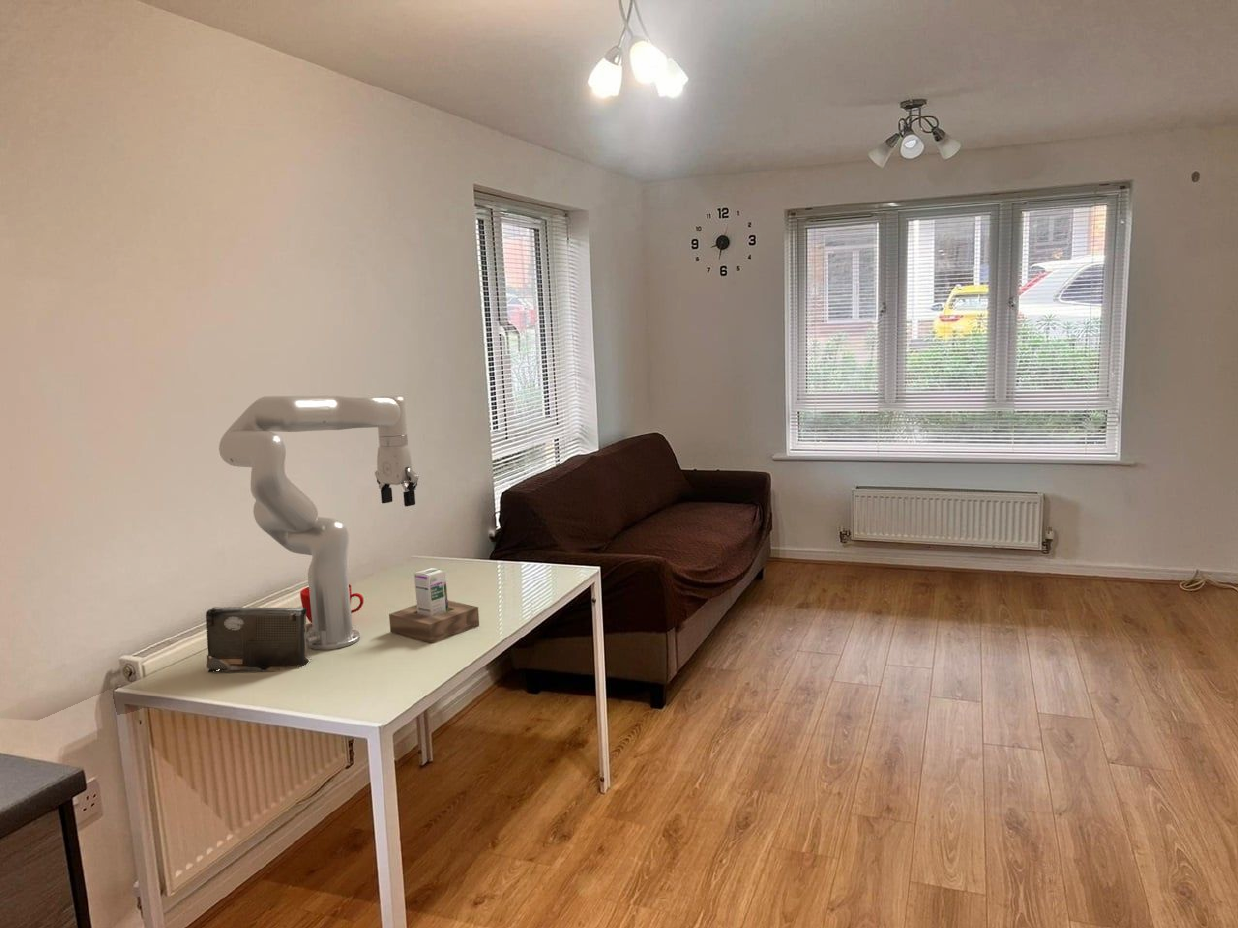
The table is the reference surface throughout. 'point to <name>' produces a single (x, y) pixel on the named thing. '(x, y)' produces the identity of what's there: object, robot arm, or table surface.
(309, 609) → the ceramic cup
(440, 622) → the socket block
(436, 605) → the syrup box
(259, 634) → the radio
